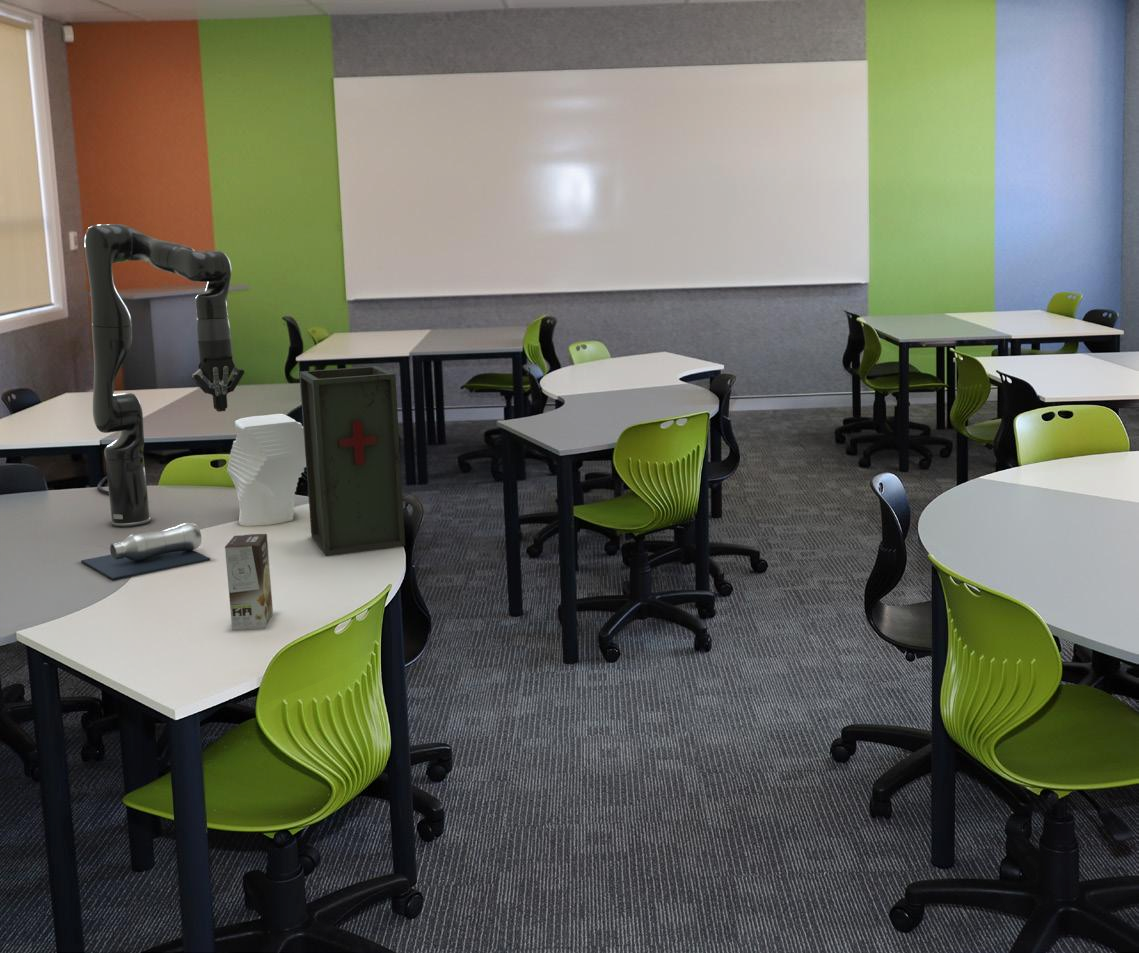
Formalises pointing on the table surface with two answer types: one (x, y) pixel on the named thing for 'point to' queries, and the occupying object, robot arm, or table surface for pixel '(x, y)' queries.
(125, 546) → the silver bottle
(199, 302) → the robot arm
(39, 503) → the table surface
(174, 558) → the rubber mat
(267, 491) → the paper stack
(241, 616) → the coffee box
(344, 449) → the first aid box
